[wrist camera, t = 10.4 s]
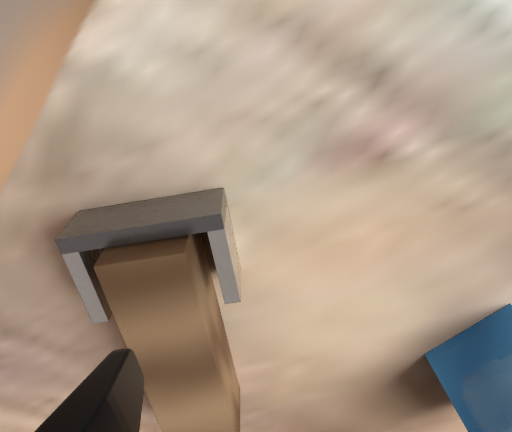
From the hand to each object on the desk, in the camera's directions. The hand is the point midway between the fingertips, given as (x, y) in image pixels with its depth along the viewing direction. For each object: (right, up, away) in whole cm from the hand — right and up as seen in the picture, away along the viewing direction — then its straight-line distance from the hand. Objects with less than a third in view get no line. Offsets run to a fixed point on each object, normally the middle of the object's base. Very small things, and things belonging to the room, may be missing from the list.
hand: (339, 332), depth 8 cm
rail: (-6, -4, +15) cm, 17 cm away
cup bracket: (-7, +1, +13) cm, 14 cm away
